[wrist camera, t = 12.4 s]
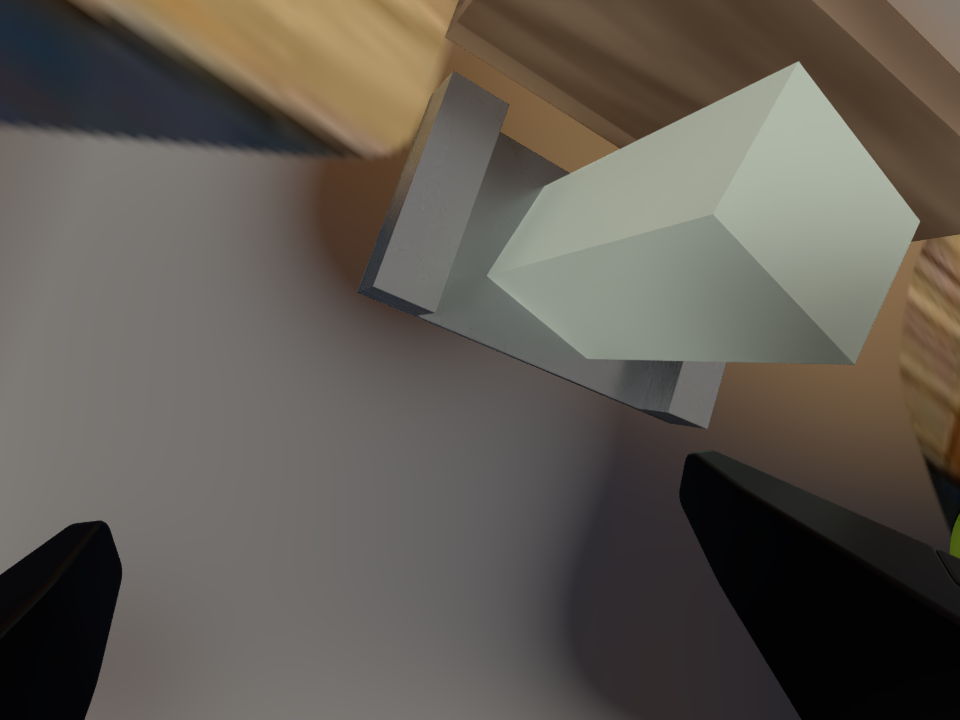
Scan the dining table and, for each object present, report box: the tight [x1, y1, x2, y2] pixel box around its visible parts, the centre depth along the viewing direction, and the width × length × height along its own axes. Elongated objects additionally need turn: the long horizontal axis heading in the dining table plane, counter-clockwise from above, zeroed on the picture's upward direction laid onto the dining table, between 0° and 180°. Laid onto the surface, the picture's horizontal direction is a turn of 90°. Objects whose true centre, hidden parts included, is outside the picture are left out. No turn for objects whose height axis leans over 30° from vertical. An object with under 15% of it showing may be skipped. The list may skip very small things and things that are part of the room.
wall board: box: [445, 0, 960, 242], centre depth 19 cm, size 3×18×9 cm, turn 69°
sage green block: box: [486, 61, 920, 365], centre depth 17 cm, size 4×6×10 cm
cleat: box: [357, 71, 726, 429], centre depth 21 cm, size 7×14×2 cm, turn 69°
